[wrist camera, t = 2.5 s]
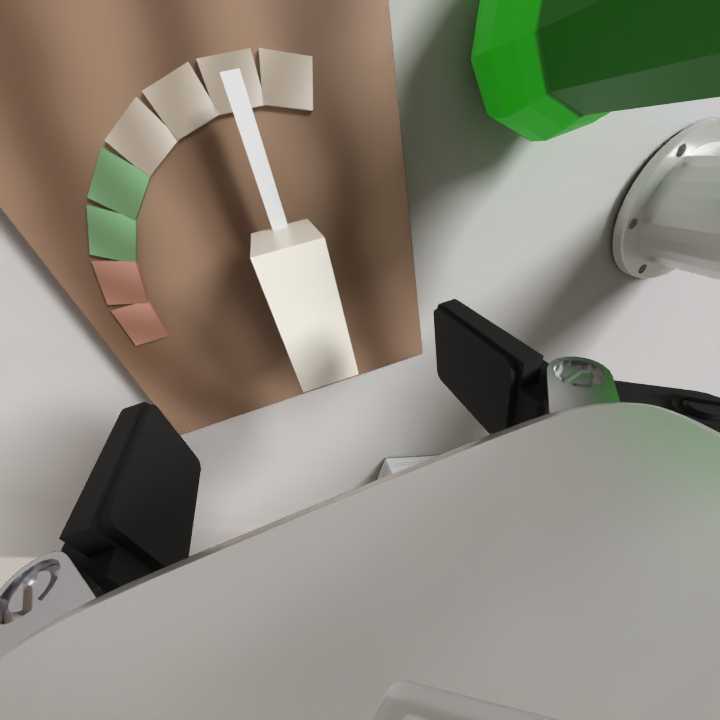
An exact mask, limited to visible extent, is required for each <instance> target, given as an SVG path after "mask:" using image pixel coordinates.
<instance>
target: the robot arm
mask: <svg viewBox="0 0 720 720" xmlns="http://www.w3.org/2000/svg"><path fill="white" fill-rule="evenodd" d="M613 255H614V259H615V262H616V264H617V265H618V267H619V269H620V270H622V271H623V272H624V273H626V274H628V275H631V276H634V277H637V278H644V279H647V278H655V277H658V276H661V275H664V274H666V273H668V272H670V271H672V270H674V269H679V270H683V271H687V272H691V273H695V274H699V275H702V276H706V277H710V278H714V279H718V280H720V118H711V119H707V120H703V121H699V122H697V123H695V124H693V125H691V126H689V127H687V128H685V129H684V130H683V131H681V132H680V133H678V134H677V135H676V136H674V137H673V138H672V139H670V140H669V141H668V142H667V143H666V144H665V145H664V146H663V147H662V148H661V149H660V150H659V151H658V152H657V153H656V154H655V155H654V156H653V157H652V159H651V160H650V161H649V162H648V163H647V164H646V166H645V167H644V168H643V170H642V171H641V173H640V174H639V175H638V177H637V178H636V180H635V181H634V183H633V185H632V186H631V188H630V190H629V192H628V194H627V195H626V197H625V199H624V202H623V204H622V206H621V209H620V211H619V213H618V217H617V220H616V224H615V227H614V234H613ZM434 327H435V342H436V358H437V371H438V375H439V377H440V379H441V381H442V382H443V383H444V384H445V385H446V386H447V387H448V388H449V389H450V391H451V392H452V393H453V394H454V395H455V396H456V397H457V398H458V399H459V401H460V402H461V403H462V404H463V405H464V406H465V407H466V408H467V409H468V411H469V412H470V413H471V414H472V415H473V416H474V417H475V418H476V419H477V420H478V422H479V423H480V424H481V425H482V426H483V427H484V428H485V429H486V430H487V432H488V433H489V434H490V435H488V436H486V437H483V438H481V439H478V440H475V441H473V442H470V443H468V444H465V445H463V446H460V447H458V448H455V449H453V450H450V451H448V452H445V453H443V454H440V455H438V456H435V457H433V458H430V459H428V460H425V461H423V462H420V463H418V464H415V465H413V466H410V467H408V468H405V469H403V470H400V471H398V472H395V473H393V474H390V475H388V476H386V477H383V478H381V479H378V480H376V481H373V482H371V483H368V484H366V485H363V486H361V487H358V488H356V489H353V490H351V491H349V492H346V493H344V494H341V495H339V496H336V497H334V498H331V499H329V500H326V501H324V502H322V503H319V504H317V505H314V506H312V507H309V508H307V509H304V510H302V511H299V512H297V513H295V514H292V515H290V516H287V517H285V518H282V519H280V520H278V521H275V522H273V523H270V524H268V525H265V526H263V527H261V528H258V529H256V530H253V531H251V532H248V533H246V534H244V535H241V536H239V537H236V538H234V539H231V540H229V541H227V542H224V543H222V544H219V545H217V546H214V547H212V548H210V549H207V550H205V551H202V552H200V553H198V554H195V555H193V556H190V557H189V550H190V542H191V535H192V528H193V521H194V514H195V507H196V499H197V492H198V485H199V478H200V471H201V467H200V462H199V460H198V458H197V457H196V456H195V454H194V453H193V452H192V450H191V449H190V448H189V447H188V445H187V444H186V443H185V441H184V440H183V439H182V438H181V436H180V435H179V434H178V432H177V431H176V430H175V429H174V427H173V426H172V425H171V423H170V422H169V421H168V420H167V418H166V417H165V416H164V414H163V413H162V412H161V411H160V409H159V408H158V407H157V406H156V405H154V404H152V405H150V404H148V403H146V402H143V403H140V404H137V405H134V406H131V407H128V408H125V409H123V410H122V411H121V413H120V415H119V417H118V419H117V421H116V423H115V425H114V427H113V429H112V431H111V433H110V435H109V438H108V440H107V442H106V444H105V446H104V448H103V450H102V452H101V454H100V456H99V458H98V460H97V462H96V464H95V466H94V468H93V470H92V472H91V474H90V476H89V478H88V480H87V483H86V485H85V487H84V489H83V491H82V493H81V495H80V497H79V499H78V501H77V503H76V505H75V507H74V509H73V511H72V513H71V515H70V517H69V519H68V521H67V523H66V525H65V528H64V530H63V532H62V534H61V536H60V538H59V539H61V540H62V541H64V542H65V543H64V546H63V548H62V550H61V552H51V553H48V554H44V555H42V556H40V557H38V558H36V559H35V560H33V561H31V562H30V563H28V564H27V565H26V566H24V567H23V568H21V569H20V570H19V571H18V572H17V573H15V574H14V575H13V576H12V577H11V578H10V579H9V580H8V581H7V582H6V583H5V584H4V585H3V586H2V588H1V589H0V720H720V398H719V397H716V396H713V395H710V394H707V393H703V392H698V391H692V390H684V389H676V388H668V387H661V386H653V385H645V384H637V383H629V382H622V381H614V379H613V376H612V374H611V373H610V371H609V370H608V369H607V368H606V367H605V366H603V365H602V364H600V363H598V362H596V361H593V360H590V359H586V358H581V357H563V358H558V359H556V360H554V361H552V362H551V363H550V364H549V363H547V362H546V361H544V360H543V355H541V354H540V353H538V352H536V351H535V350H533V349H532V348H530V347H529V346H527V345H526V344H524V343H523V342H521V341H519V340H518V339H516V338H515V337H513V336H512V335H510V334H509V333H507V332H506V331H504V330H503V329H501V328H499V327H498V326H496V325H495V324H493V323H492V322H490V321H489V320H487V319H486V318H484V317H483V316H481V315H479V314H478V313H476V312H475V311H473V310H472V309H470V308H469V307H467V306H466V305H464V304H462V303H461V302H459V301H458V300H456V299H453V300H450V301H447V302H444V303H441V304H439V305H438V307H437V309H436V310H435V311H434Z"/></svg>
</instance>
